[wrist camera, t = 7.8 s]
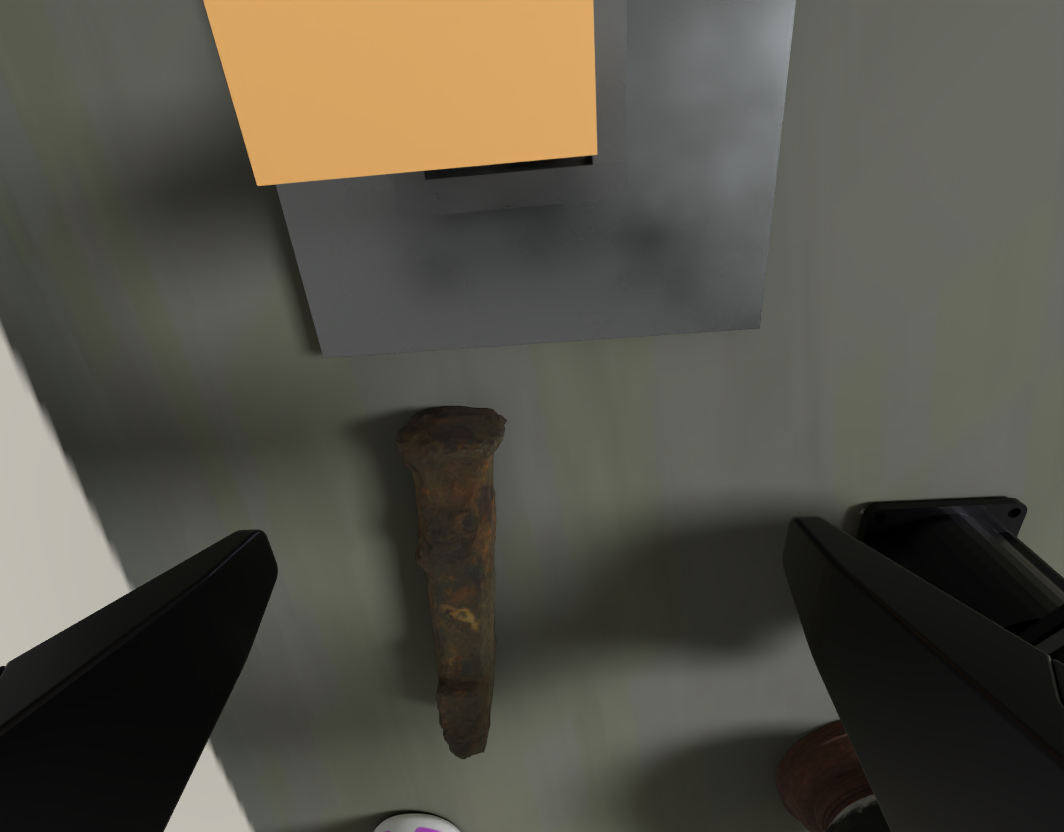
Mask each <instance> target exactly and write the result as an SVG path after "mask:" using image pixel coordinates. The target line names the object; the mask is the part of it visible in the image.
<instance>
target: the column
mask: <svg viewBox="0 0 1064 832" xmlns="http://www.w3.org/2000/svg"><path fill="white" fill-rule="evenodd" d="M203 1H204V4H205V8H206V11H207V15H208V18H209V21H210V25H211V28H212V32H213V35H214V39H215V42H216V45H217V49H218V52H219V56H220V59H221V63H222V66H223V70H224V73H225V76H226V80H227V83H228V87H229V90H230V94H231V97H232V100H233V104H234V107H235V111H236V114H237V118H238V121H239V125H240V128H241V131H242V135H243V138H244V142H245V145H246V149H247V152H248V155H249V159H250V162H251V166H252V169H253V173H254V176H255V180H256V183H257V186H263V185H274V184H285V183H296V182H307V181H318V180H329V179H339V178H350V177H361V176H372V175H383V174H394V173H405V172H415V171H426V170H437V169H448V168H459V167H470V166H481V165H492V164H502V163H513V162H524V161H535V160H546V159H557V158H568V157H578V156H589V155H597V120H596V83H595V45H594V8H593V0H203Z"/></svg>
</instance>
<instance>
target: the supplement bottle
mask: <svg viewBox="0 0 1064 832" xmlns="http://www.w3.org/2000/svg"><path fill="white" fill-rule="evenodd" d="M374 832H460V831H459V829H458V828H457V827H456V826H454V825H453V824H452V823H450V822H448V821H447V820H445V819H442V818H440V817H437V816H433V815H428V814H418V813H416V814H401V815H396V816H393V817H390V818H388V819H386V820H384V821H383V822H382V823H380V824H379V825H378V826H377V828H376V829H375V831H374Z"/></svg>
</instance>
